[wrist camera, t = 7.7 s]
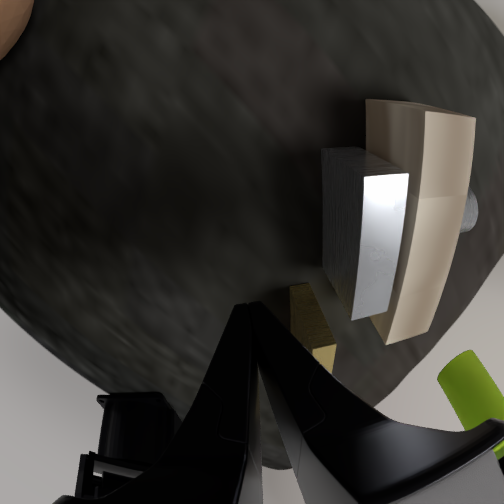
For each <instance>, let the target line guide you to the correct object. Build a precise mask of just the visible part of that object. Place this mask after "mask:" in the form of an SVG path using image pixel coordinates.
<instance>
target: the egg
mask: <svg viewBox="0 0 504 504" xmlns="http://www.w3.org/2000/svg"><path fill="white" fill-rule="evenodd" d="M33 4H34V0H0V60H1V59H2V58H3V57H4V56H6V54H7V53H8V52H9V51H10V49H11V48H12V47H13V46H14V44H15V43H16V42H17V40H18V39H19V37H20V36H21V34H22V33H23V31H24V30H25V27H26V25H27V23H28V21H29V18H30V16H31V12H32V7H33Z"/></svg>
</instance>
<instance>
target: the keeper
mask: <svg viewBox="0 0 504 504" xmlns="http://www.w3.org/2000/svg"><path fill="white" fill-rule="evenodd" d="M290 327H291V333H292V334H293V335H294V336H295V337H296V338H297V339H298V341H299V342H300V343H301V344H302V345H303V346H304V347H305V348H306V349H307V350H308V351H309V352H310V353H311V354H312V355H313V356H314V357H315V358H316V359H317V360H318V361H319V362H320V364H322V365H323V366H324V367H325V368H326V369H327V370H328V371H329V372H330V373H331V374H332V368H333V362H334V356H335V350H336V342H335V340H334V337H333V335H332V333H331V331H330V328H329V326H328V324H327V322H326V319H325V317H324V315H323V313H322V311H321V308H320V306H319V304H318V302H317V300H316V297H315V295H314V293H313V291H312V289H311V286H310V284H309V283H306V284H301V285H295V286H290Z"/></svg>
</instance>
